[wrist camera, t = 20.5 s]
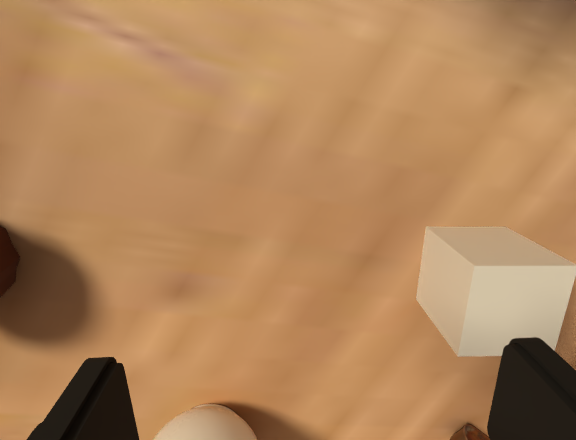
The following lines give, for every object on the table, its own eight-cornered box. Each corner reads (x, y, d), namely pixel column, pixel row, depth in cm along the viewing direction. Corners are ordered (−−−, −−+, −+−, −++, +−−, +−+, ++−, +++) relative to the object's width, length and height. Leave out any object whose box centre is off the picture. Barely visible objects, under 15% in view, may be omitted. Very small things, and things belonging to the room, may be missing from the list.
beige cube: (425, 226, 35) (474, 265, 26) (505, 226, 35) (578, 265, 27) (415, 299, 37) (457, 356, 29) (490, 298, 38) (553, 355, 29)
